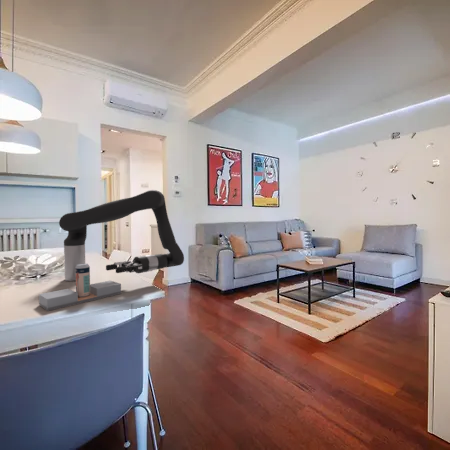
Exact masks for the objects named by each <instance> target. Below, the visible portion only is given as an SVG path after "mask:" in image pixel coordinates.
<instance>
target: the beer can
mask: <svg viewBox="0 0 450 450" xmlns="http://www.w3.org/2000/svg"><path fill="white" fill-rule="evenodd" d="M90 268H91V267H90V265H89V264H88V263H85V264H78V265H77V266H76V268H75V270H76V281H75V292H77V293H78V297H86V296H88V295H90V284H91V275H90V274H91V270H90Z"/></svg>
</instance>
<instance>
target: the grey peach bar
mask: <svg viewBox="0 0 450 450" xmlns="http://www.w3.org/2000/svg"><path fill="white" fill-rule="evenodd" d="M116 295H122V284H121V283H120V282H116V281H114V280H107V281H101V282H95V283H90V295H88V296H86V297H78V293H77V292H76V290H72V289H70V288H66V289H60V290H53V291H48V292H43V293H39V294H38V305H39V306H40V307H41V308H43V309H44V310H45V311H46V312H49V311H54V310H57V309H58V310H59V309H62V308H66V307H70V306H74V305H78V304H83V303H87V302H92V301H95V300H100V299H103V298H108V297H112V296H116Z"/></svg>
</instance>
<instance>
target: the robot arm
mask: <svg viewBox="0 0 450 450" xmlns="http://www.w3.org/2000/svg"><path fill="white" fill-rule="evenodd" d="M143 210H144V211H145V210H151V211H152V212H153V214H154V217H155V220H156V225H157V232H158V237H159V240H160V244H161V246H162V248H163V249H164V250H167V251H168V253H164V254H163V253H158V254H157V253H156V254H145V255H138V256H135V257H133V260H132V261H131V260H125V261H117V262H114V263H112V264H106V265H105V270H106V271H112V270H115V273H116V274H121V273H136V274H141V273H143V274H144V273H147V272H153V271H156V270H161V269H164V268H171V267H177V266H178V267H179V266H181V265H183V264H184V261H185V256H184V253H183V251H182V249H181V248H180V246H179V244H178V243H177V241H176V237H175V235H174V232H173V229H172V226H171V222H170V219H169V216H168V211H167V206H166V200H165V195H164V194H163V192H161V191H159V190H156V189H150V190H147V191H145V192H142V193H140V194H137V195H134V196H131V197H125V198H121V199H116V200H113V201H112V200H111V201H109V202H105V203H102V204H99V205H96V206H94V207H91V208H88V209H85V210H81V211H75V212H69V213H68V212H67V213H65V214H63V215H62V216H61V217H60V219H59V222H58V224H59V228H60V229H62V230H63V231H65V232H68V234H67V237H66V238H65V239H64V240H63V255H64V258H63V259H64V264H63V265H64V280H65V281H67V282H76V270H75V268H76V266H77V265H78V264H86V239H87V235H88V233H87V228H88V226H90V225H94V224H103V223H108V222H113V221H117V220H120V219H122V218H125V217H127V216H130V215H133V214H134V213H137V212H140V211H143Z"/></svg>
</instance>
